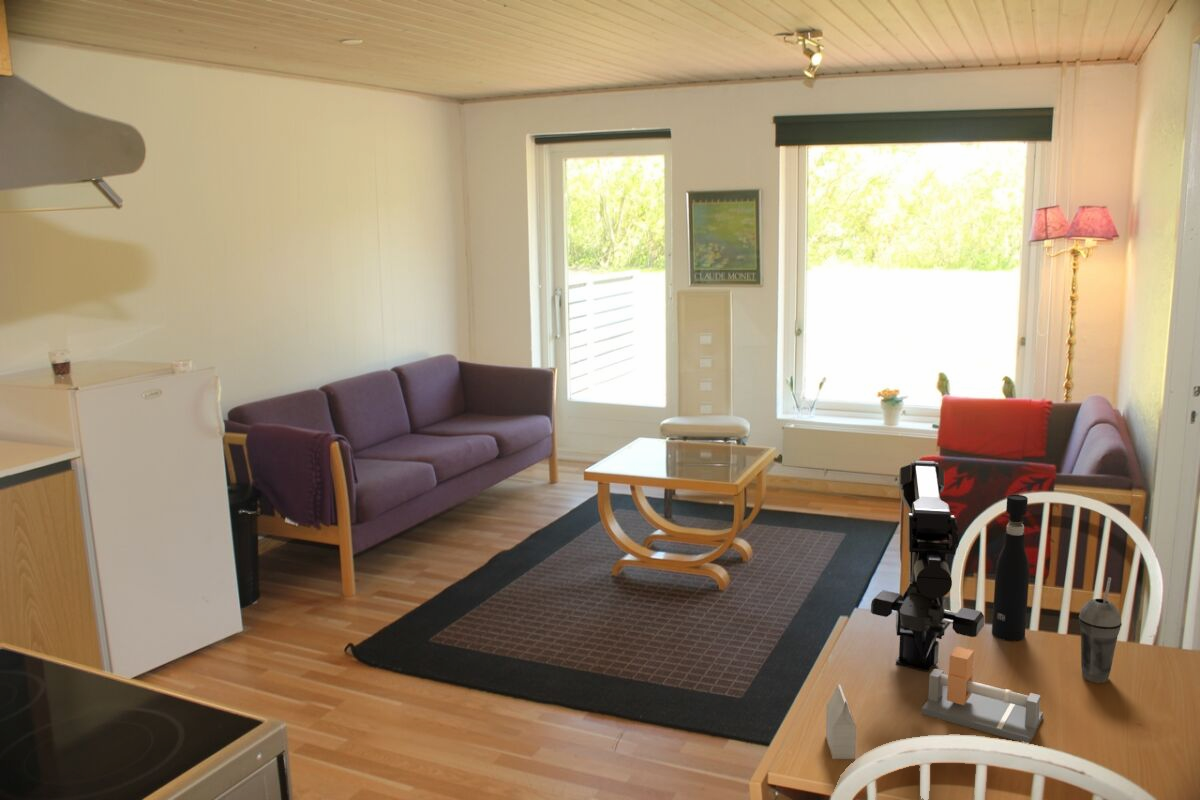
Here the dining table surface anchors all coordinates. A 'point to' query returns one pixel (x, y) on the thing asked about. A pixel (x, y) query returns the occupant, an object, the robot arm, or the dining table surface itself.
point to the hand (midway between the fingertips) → (924, 656)
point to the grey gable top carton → (840, 727)
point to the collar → (959, 675)
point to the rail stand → (985, 708)
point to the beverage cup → (1098, 637)
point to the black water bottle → (1012, 576)
